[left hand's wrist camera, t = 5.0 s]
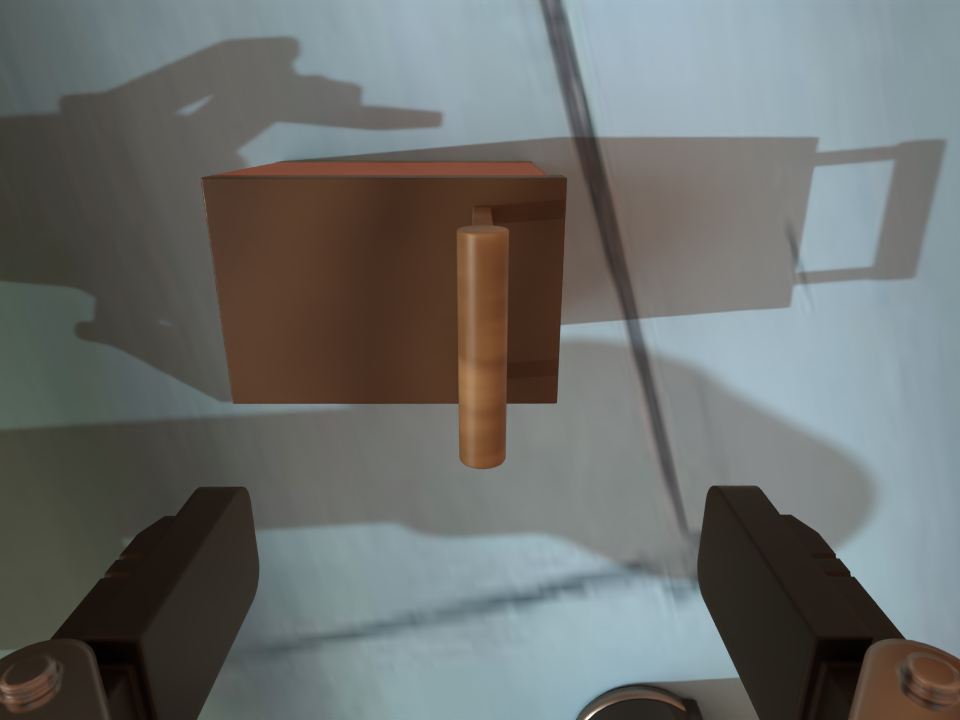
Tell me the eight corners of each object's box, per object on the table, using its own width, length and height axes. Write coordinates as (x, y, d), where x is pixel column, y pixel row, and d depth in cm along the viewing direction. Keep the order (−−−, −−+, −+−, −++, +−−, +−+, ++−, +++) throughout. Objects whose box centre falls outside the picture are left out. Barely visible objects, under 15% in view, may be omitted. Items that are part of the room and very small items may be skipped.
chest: (530, 161, 35) (548, 174, 26) (526, 328, 38) (540, 392, 29) (281, 161, 35) (213, 174, 26) (298, 328, 38) (242, 392, 29)
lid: (563, 175, 26) (601, 198, 18) (553, 392, 29) (582, 494, 21) (212, 175, 26) (92, 198, 18) (242, 392, 29) (152, 495, 21)
